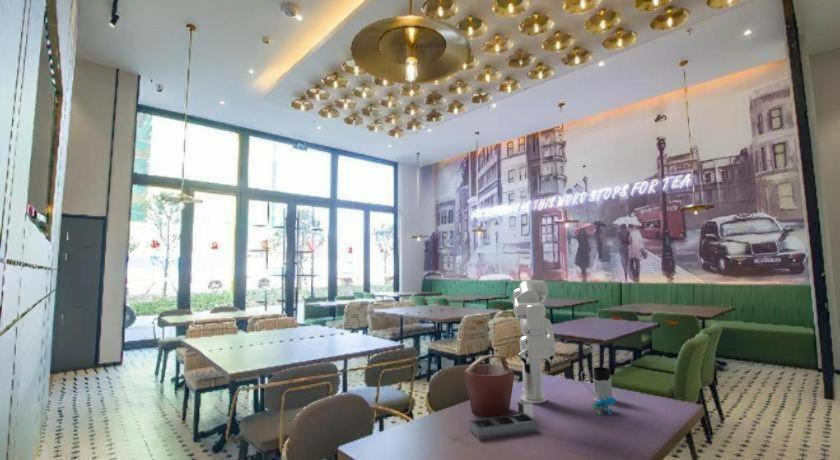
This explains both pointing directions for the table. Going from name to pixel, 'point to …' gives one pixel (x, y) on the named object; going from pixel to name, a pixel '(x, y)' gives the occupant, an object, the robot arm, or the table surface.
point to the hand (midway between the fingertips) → (537, 372)
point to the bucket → (489, 387)
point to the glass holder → (601, 383)
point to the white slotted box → (525, 408)
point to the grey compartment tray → (503, 425)
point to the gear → (604, 404)
